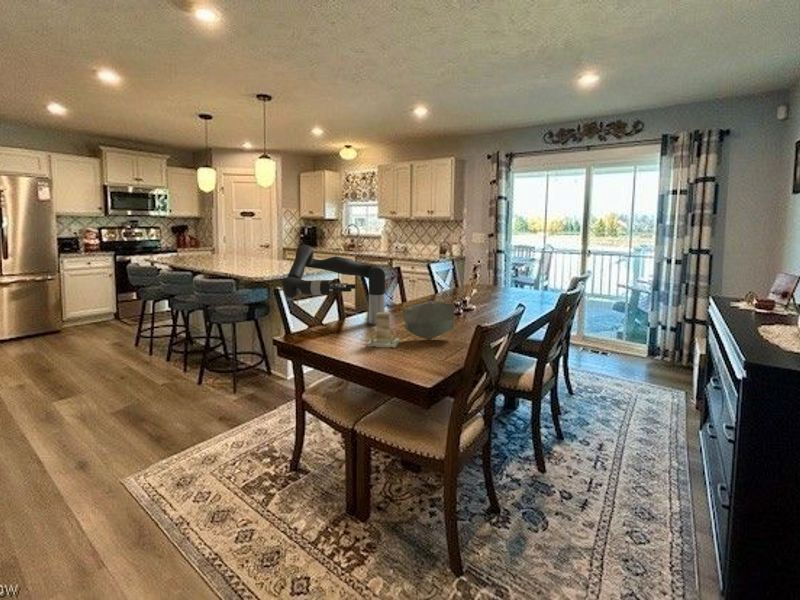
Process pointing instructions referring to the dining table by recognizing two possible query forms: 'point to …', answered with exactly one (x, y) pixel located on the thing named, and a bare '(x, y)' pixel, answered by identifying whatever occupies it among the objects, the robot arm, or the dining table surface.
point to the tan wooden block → (383, 327)
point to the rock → (429, 319)
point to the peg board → (392, 342)
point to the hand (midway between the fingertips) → (353, 287)
